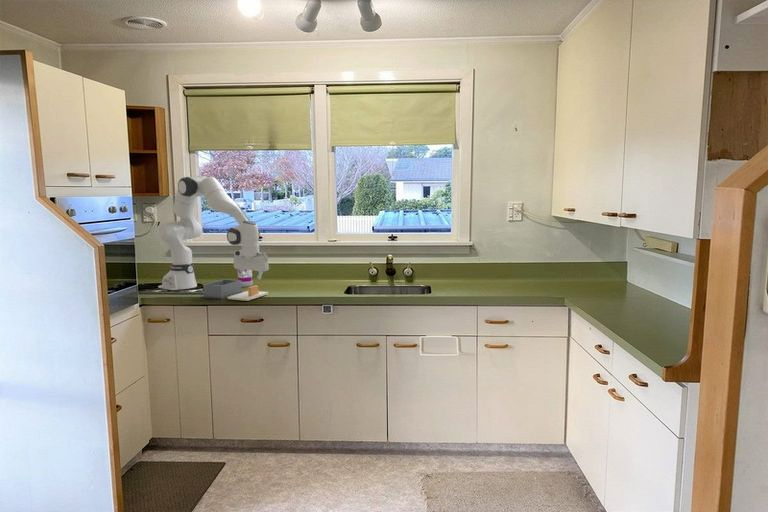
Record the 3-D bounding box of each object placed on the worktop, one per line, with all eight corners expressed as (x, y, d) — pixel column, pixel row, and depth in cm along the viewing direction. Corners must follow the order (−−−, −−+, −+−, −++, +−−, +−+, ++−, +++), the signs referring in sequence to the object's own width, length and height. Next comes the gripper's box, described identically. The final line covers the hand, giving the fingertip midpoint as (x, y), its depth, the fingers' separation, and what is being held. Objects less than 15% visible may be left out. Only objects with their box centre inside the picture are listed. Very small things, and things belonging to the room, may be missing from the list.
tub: (203, 297, 264) (203, 284, 263) (224, 291, 279) (224, 279, 278) (221, 299, 259) (220, 285, 258) (241, 293, 274) (241, 280, 273)
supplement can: (248, 287, 290) (247, 261, 288) (235, 286, 292) (234, 261, 290) (255, 284, 298) (253, 259, 296) (242, 284, 300) (241, 259, 298)
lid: (227, 300, 257) (226, 288, 256) (248, 294, 273) (248, 282, 272) (248, 302, 252) (247, 290, 251) (268, 295, 267) (267, 283, 266)
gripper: (270, 252, 257) (271, 278, 259) (239, 250, 265) (240, 276, 267) (263, 254, 251) (264, 281, 253) (231, 252, 259) (232, 278, 261)
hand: (251, 278), depth 260 cm, fingers open, 8 cm apart
